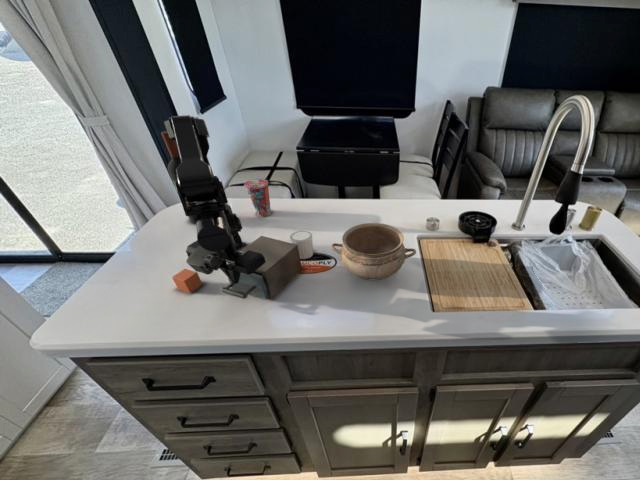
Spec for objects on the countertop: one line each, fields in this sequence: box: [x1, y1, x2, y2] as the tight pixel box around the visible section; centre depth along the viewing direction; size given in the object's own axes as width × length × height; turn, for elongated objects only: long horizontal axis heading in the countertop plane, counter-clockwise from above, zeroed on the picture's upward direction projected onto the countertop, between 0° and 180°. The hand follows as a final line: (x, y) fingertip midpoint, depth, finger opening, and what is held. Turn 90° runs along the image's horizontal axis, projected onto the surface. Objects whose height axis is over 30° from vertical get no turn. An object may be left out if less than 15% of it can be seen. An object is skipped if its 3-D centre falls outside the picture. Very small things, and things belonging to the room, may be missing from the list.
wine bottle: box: [160, 130, 197, 225], centre depth 112 cm, size 8×8×30 cm
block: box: [171, 268, 203, 294], centre depth 91 cm, size 4×4×4 cm
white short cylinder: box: [289, 230, 314, 260], centre depth 104 cm, size 7×7×7 cm
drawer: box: [220, 272, 269, 300], centre depth 90 cm, size 18×11×7 cm, turn 159°
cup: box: [243, 178, 272, 217], centre depth 122 cm, size 9×8×12 cm
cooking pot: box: [330, 222, 417, 281], centre depth 96 cm, size 25×19×12 cm
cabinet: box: [240, 235, 303, 300], centre depth 93 cm, size 15×13×9 cm
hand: (236, 282), depth 84 cm, fingers closed
